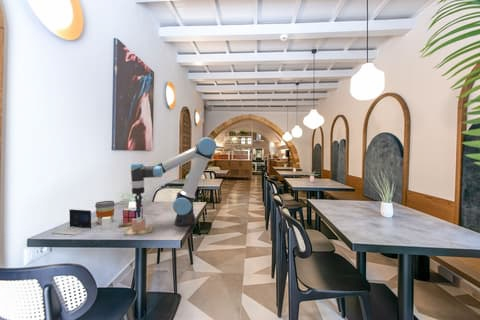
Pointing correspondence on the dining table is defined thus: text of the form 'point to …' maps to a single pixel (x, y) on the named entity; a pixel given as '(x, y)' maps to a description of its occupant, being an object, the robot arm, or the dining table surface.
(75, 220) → the laptop
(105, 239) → the dining table surface
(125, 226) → the walnut plate
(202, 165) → the robot arm
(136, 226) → the terracotta brick
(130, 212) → the puzzle cube
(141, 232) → the oak board
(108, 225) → the off-white square brick
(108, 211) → the reusable coffee cup
